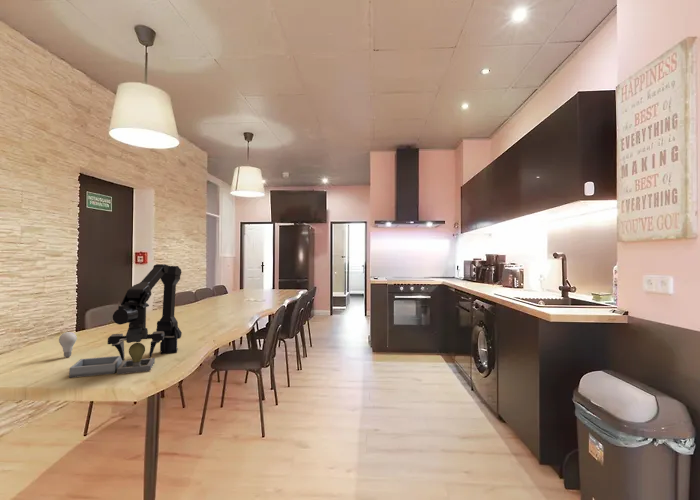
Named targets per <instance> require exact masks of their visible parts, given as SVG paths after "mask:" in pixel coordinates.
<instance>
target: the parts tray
mask: <svg viewBox="0 0 700 500" xmlns="http://www.w3.org/2000/svg"><path fill="white" fill-rule="evenodd" d="M122 362H123V361H122V358H121V356H120V355H113V356H101V357H90V358H80V359H79V360H78V361H76V362H75V363H74V364H73V365H72V366H70V367H69V371H68V372H69V373H68V374H69V378H70V379H71V378H82V377H92V376H101V375H110V374H111V375H112V374H115V373H117V368H118V367H119V366H120V365H121V363H122Z"/></svg>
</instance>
